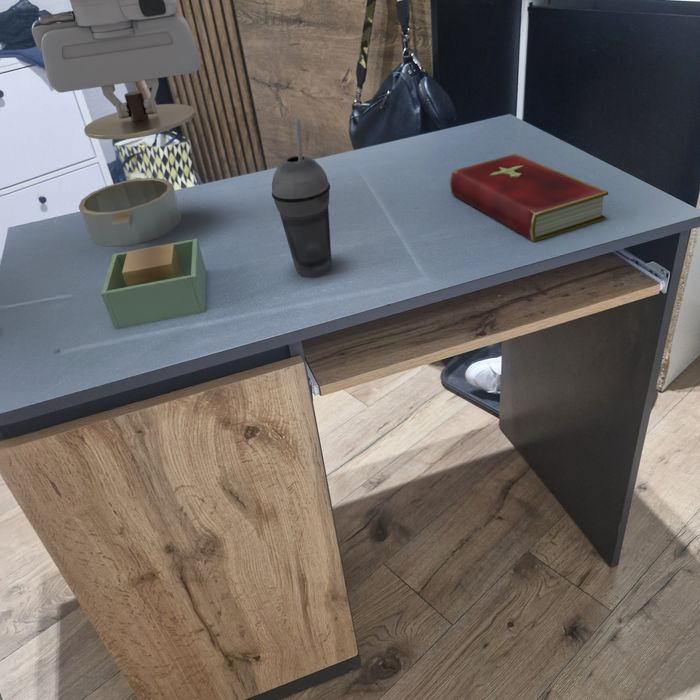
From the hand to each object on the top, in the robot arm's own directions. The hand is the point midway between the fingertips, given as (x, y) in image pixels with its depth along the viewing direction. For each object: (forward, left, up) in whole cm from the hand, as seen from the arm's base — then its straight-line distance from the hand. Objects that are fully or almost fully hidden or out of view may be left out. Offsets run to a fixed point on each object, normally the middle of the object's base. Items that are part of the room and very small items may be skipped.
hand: (139, 115), depth 91 cm
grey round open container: (-6, +5, -19) cm, 20 cm away
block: (0, -22, -18) cm, 28 cm away
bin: (0, -22, -19) cm, 29 cm away
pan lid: (0, 0, -1) cm, 1 cm away
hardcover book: (+52, -14, -19) cm, 57 cm away
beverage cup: (+20, -22, -19) cm, 35 cm away
